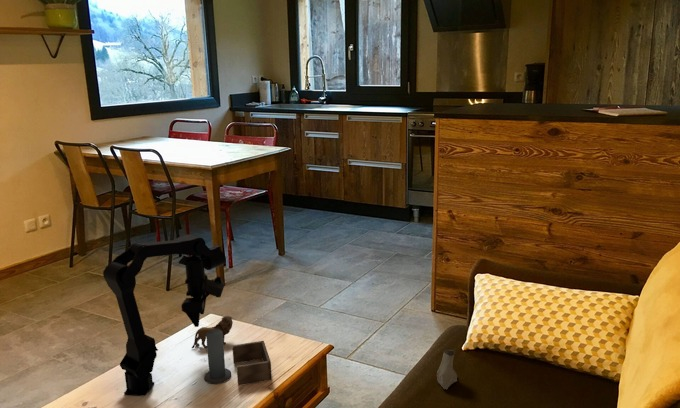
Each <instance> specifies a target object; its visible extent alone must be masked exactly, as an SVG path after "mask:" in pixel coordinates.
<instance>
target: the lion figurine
mask: <svg viewBox="0 0 680 408" xmlns="http://www.w3.org/2000/svg"><path fill="white" fill-rule="evenodd" d="M232 328H233V317H232V316H229V315H225V316H223V317H222V318H221V320H220V321H218V323H217V324H216V325H214V326H212V327H211V326H210V327H209V326H208V327H207V326H204V327H201V328H198V329H197V330H196V333H195V335H194V342H193V344H192V346H191V349H194V348H195V347H199V346H200V343H198V342H199V341H200V340H201V345H202V347H203V348H204V349H207V344H206V343H205V342H206V341H207V339H206V333H207V332H208V331H210V330H214V329H219V330H222V332H223V346H225V345H227V342H226V341H225V336H226V335H228V334H229V333H230V331H231V330H232Z"/></svg>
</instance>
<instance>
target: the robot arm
mask: <svg viewBox="0 0 680 408" xmlns="http://www.w3.org/2000/svg"><path fill="white" fill-rule="evenodd" d="M221 247H222V246H220V245H213V246H211V247H209V246H207V245H206V240H205V239H204V238H203V237H199V236H196V235H192V234H185V235H182V236H178V237H177V238H176V239H172V240H164V241H163V240H161V241H152V242H140V243H139V242H136V243H132V244H131V245H130V246H129V247H128V248H127V250H125V251H124V252H122V253H120V254H118V255H117V256H116V257H115V258H114V259H113V260H112V261H111V262H110V263H109V264H107V265H106V267H105V268H104V270H103V271H102V275H103V278H104V281H105V283H106V285H107V286H108V287H109V289H110V290H111V291H112V293H113V294H114V296H115V298H116V302H117V305H118V308H119V311H120V315H121V318H122V323H123V325H124V329H125V333H126V336H127V341H126V344H125V350H126V352H125V355H124V356H123V358H122V359H121V361H120V363H119V367H120V369H122V370H124V378H125V386H126V390H125V391H124V392H123V394H124V395H125V396H146V395H147V394H148V393H149V391H150V390H151V389H152V387H154V385H155V381H153V374H152V372H153V369H154V366H155V360H156V358H157V357H158V356H157V352H158V351H159V349H158V348H157V346H156V340H155V338H154V337H152V336H150V335H147V334H146V332H145V329H144V324H143V321H142V318H141V314H140V311H139V307H138V304H137V299H136V296H135V287H136V284H137V281H136V280H137V279H136V277H137V275H138V274H139V273H140V272H141V271H142V268H143V265H144V262H145V261H146V259H147V258H155V257H164V256H172V255H182V257H181V258H180V259H179V261H178V264H180V265H182V266H185V276H186V278H185V280H184V284H186V287H187V290H186V293H185V294H186V298H185V299H184V300H183V301H182V304H181V311H182V312H183V313H184V314H185V315H186V316H187V317H188V318H189V320H190V321H191V323H192V324H193V326H194V327H195V328H198V327H199V326H200V317H201V315H204V314H205V310H206V302H207V298H208V297H209V295H210V296H214V297H215V298H221V297H222V295H223V291H224V288H225V282H224V281H223V277H222V276H216V277H215V278H214V279H208V275H207V274H206V273H205V271H206V270H207V271H210V270H213V269H216V268H218V267H221V266H223V265H225V264H226V262H227V261H226V260H227V258H226V256H225V253H224V251H223V250H222V248H221ZM130 262H131V263H130ZM127 264H129V265H127Z"/></svg>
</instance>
